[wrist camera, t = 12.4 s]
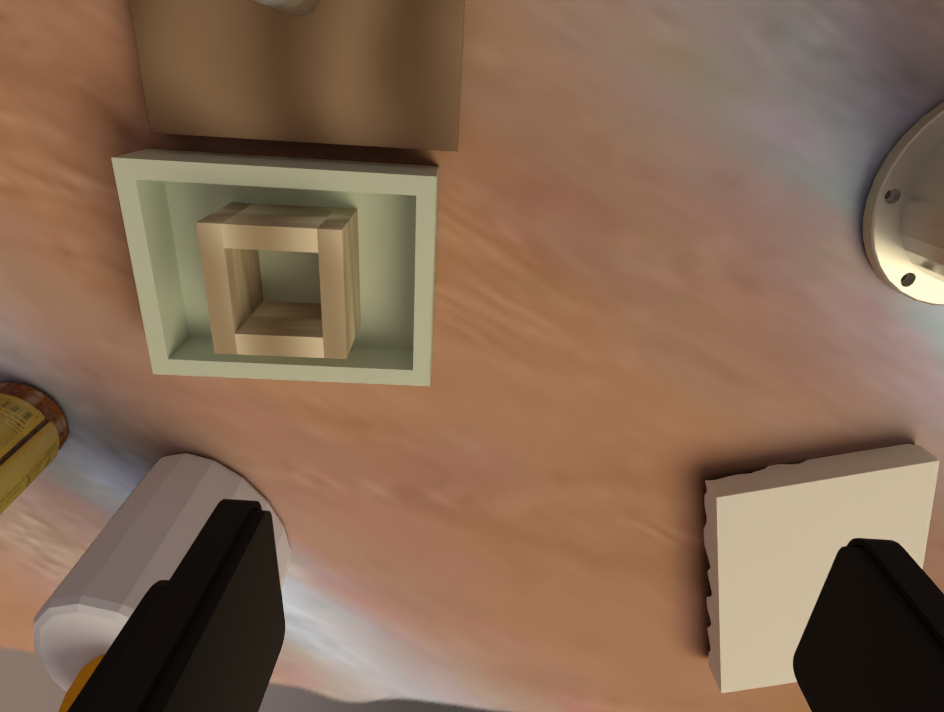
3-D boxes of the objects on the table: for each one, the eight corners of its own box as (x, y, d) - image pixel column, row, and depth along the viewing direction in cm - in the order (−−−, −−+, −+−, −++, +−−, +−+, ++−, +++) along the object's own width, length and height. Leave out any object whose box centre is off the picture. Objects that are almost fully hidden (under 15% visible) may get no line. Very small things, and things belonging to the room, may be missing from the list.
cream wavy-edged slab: (698, 469, 44) (705, 657, 52) (716, 497, 41) (721, 693, 49) (904, 434, 43) (879, 630, 51) (939, 460, 40) (907, 665, 48)
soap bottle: (118, 475, 42) (-147, 788, 24) (212, 429, 40) (7, 725, 22) (233, 595, 47) (89, 927, 29) (320, 558, 46) (226, 884, 27)
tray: (439, 165, 33) (436, 176, 30) (432, 358, 38) (429, 386, 35) (147, 148, 32) (111, 157, 29) (181, 346, 38) (153, 374, 34)
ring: (357, 208, 33) (341, 230, 29) (360, 323, 36) (346, 359, 32) (231, 202, 33) (195, 222, 29) (245, 318, 36) (214, 353, 32)
